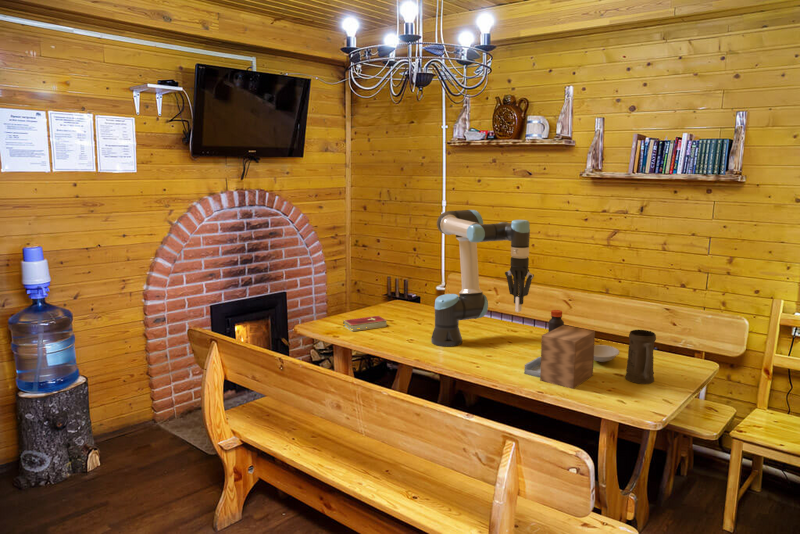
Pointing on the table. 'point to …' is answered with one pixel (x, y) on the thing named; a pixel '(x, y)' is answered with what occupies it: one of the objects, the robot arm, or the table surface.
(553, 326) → the bottle
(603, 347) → the dish
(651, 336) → the beer stein
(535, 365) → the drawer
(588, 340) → the wood grain box
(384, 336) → the table surface
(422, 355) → the table surface
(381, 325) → the hardcover book
